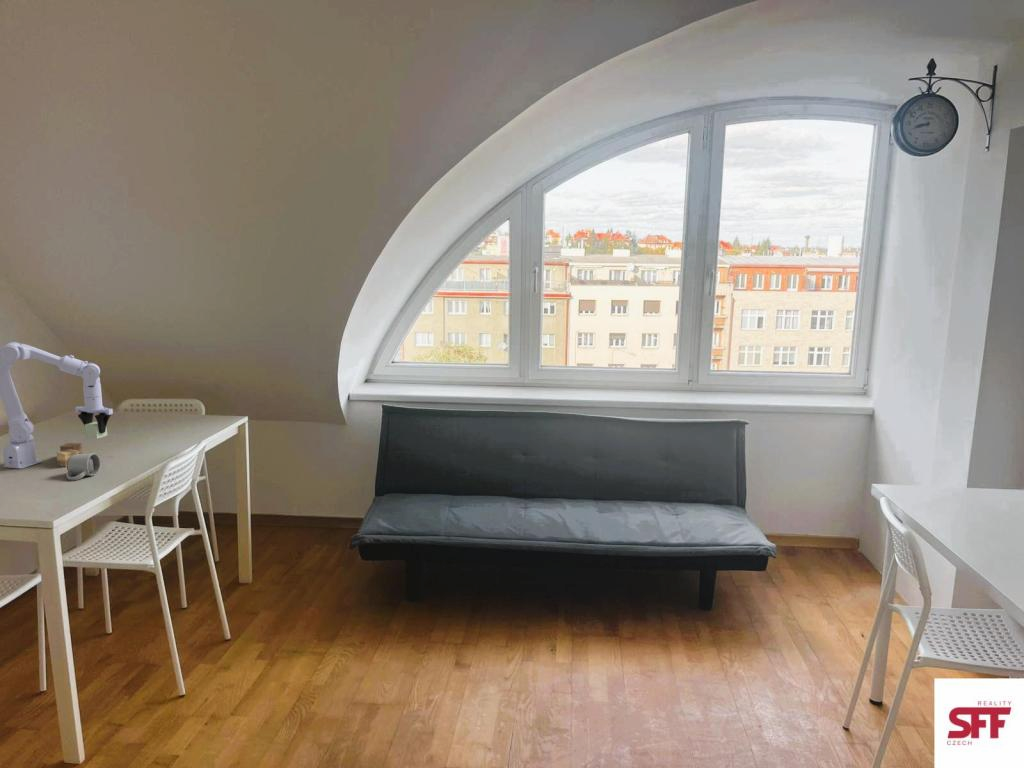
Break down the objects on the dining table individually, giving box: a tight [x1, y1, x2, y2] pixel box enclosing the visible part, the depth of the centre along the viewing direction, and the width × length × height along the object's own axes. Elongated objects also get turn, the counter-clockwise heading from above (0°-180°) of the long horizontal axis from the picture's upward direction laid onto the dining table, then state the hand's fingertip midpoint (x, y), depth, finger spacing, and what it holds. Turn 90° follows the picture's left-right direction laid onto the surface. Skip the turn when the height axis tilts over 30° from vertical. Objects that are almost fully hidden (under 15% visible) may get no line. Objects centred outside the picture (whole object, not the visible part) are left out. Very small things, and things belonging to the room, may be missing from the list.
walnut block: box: [59, 442, 83, 454], centre depth 279 cm, size 5×5×5 cm
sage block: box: [84, 421, 108, 440], centre depth 277 cm, size 5×5×5 cm
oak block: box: [56, 449, 79, 468], centre depth 270 cm, size 5×5×5 cm
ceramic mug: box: [65, 452, 101, 481], centre depth 257 cm, size 11×8×8 cm
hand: (96, 432), depth 278 cm, fingers closed on sage block, 5 cm apart
